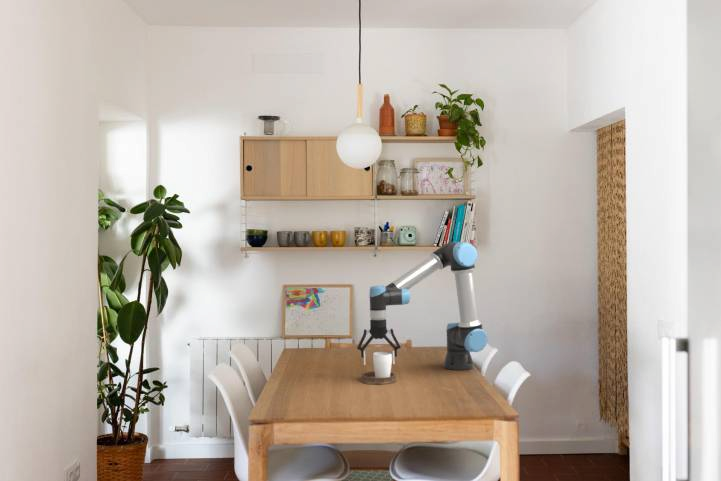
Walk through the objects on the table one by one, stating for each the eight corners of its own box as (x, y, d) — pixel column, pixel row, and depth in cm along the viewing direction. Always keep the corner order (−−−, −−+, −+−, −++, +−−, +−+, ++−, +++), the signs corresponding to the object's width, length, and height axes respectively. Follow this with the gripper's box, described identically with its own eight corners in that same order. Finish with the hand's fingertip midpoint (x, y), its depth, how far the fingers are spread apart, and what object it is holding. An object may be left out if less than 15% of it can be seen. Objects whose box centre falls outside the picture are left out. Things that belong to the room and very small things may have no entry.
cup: (390, 381, 308) (390, 355, 308) (371, 380, 310) (371, 354, 310) (393, 377, 317) (393, 351, 317) (374, 376, 319) (374, 351, 319)
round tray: (395, 376, 322) (395, 370, 322) (397, 384, 305) (397, 378, 305) (360, 376, 322) (360, 371, 322) (360, 384, 305) (360, 378, 305)
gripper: (404, 317, 317) (405, 361, 317) (351, 318, 317) (352, 363, 317) (405, 319, 310) (406, 364, 310) (351, 320, 309) (352, 366, 310)
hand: (379, 364), depth 313 cm, fingers open, 13 cm apart
